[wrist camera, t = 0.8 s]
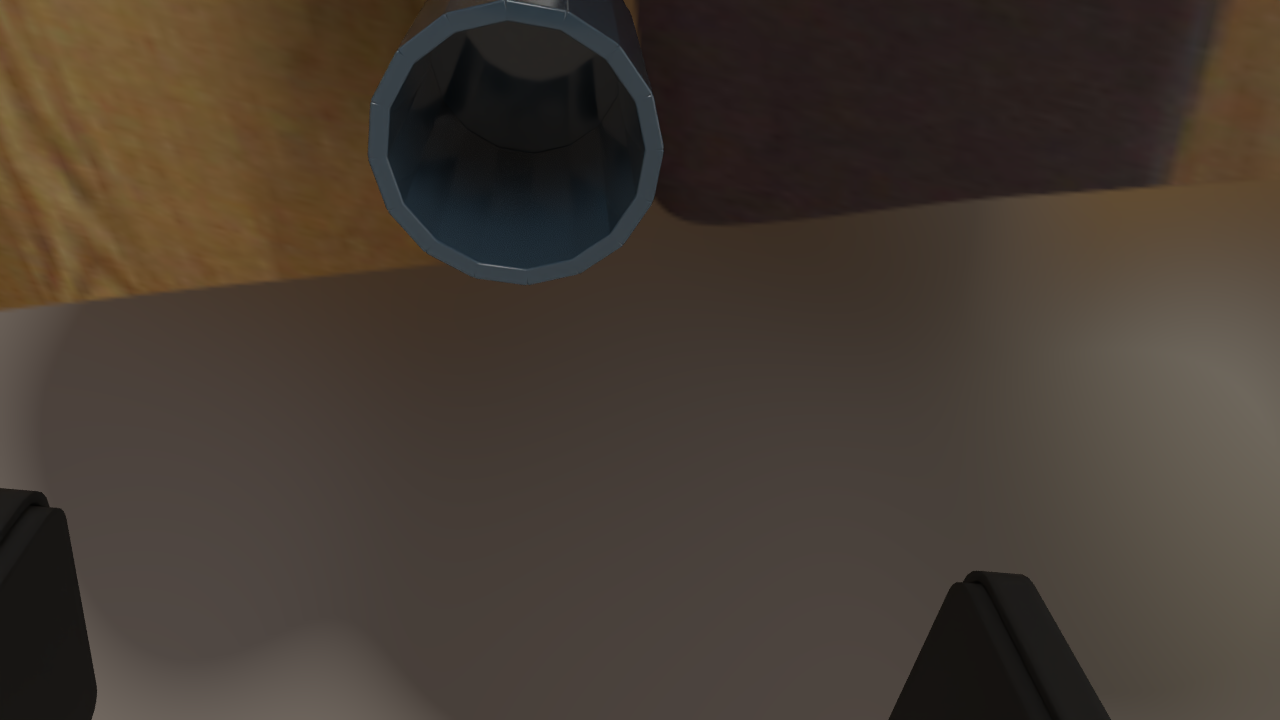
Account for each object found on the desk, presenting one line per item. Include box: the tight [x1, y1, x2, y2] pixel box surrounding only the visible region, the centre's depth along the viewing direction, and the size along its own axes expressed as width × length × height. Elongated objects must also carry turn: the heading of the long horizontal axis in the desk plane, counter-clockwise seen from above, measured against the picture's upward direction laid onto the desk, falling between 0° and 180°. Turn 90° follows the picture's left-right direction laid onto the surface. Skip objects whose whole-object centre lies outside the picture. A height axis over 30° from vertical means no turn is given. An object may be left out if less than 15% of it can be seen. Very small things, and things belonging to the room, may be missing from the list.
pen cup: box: [368, 0, 664, 285], centre depth 29 cm, size 7×7×10 cm
